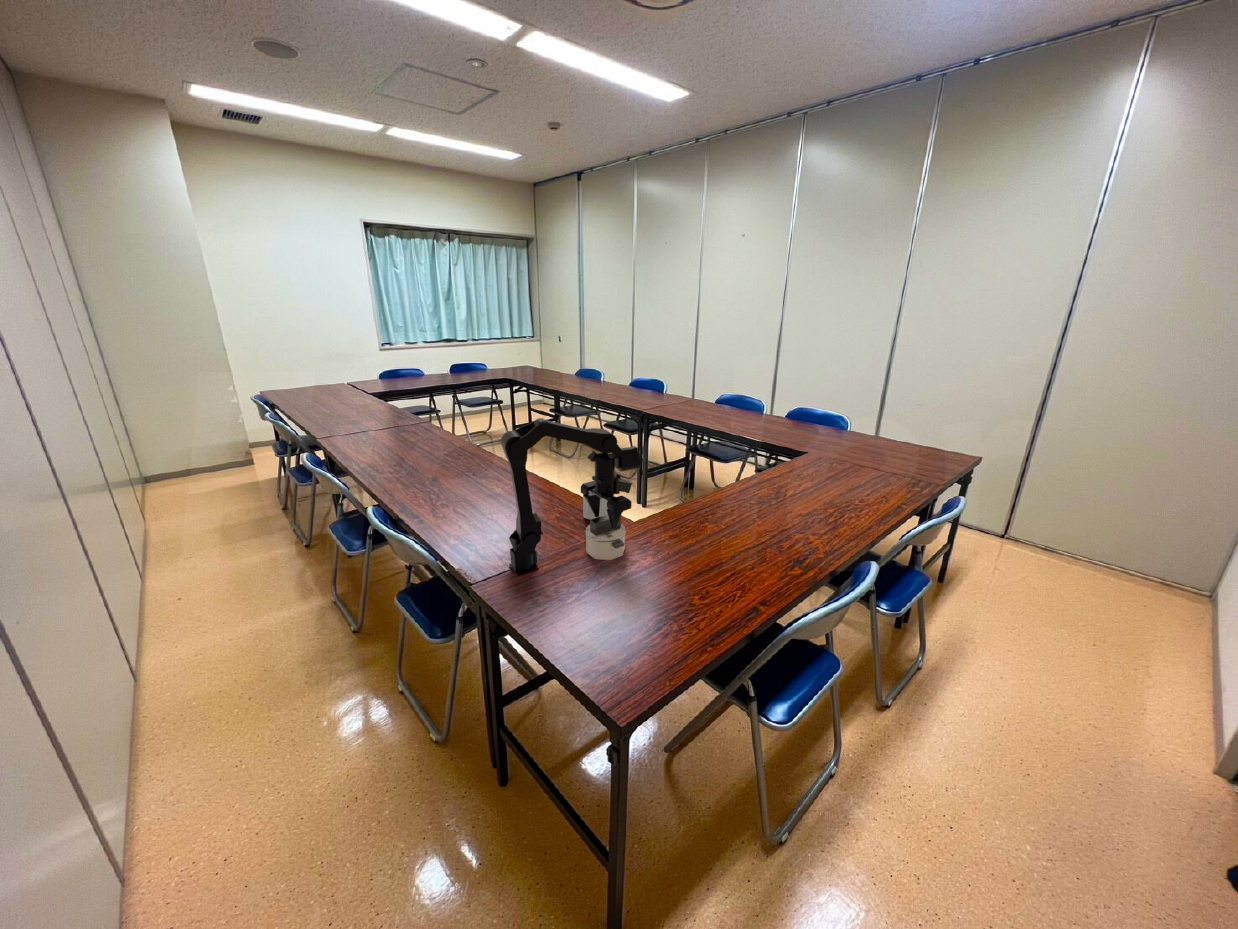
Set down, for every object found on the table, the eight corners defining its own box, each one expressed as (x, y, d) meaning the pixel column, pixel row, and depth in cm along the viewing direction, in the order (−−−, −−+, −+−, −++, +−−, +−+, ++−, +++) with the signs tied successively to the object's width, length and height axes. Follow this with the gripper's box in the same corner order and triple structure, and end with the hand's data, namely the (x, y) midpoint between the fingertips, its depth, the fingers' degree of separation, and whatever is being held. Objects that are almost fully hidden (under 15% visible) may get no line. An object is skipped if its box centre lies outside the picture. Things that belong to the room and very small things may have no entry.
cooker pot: (604, 566, 136) (604, 548, 134) (577, 545, 147) (577, 528, 145) (635, 555, 142) (635, 537, 140) (607, 535, 153) (606, 519, 151)
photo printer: (613, 520, 164) (613, 487, 160) (606, 525, 160) (606, 491, 156) (588, 513, 169) (587, 481, 165) (581, 518, 165) (580, 485, 161)
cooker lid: (599, 546, 135) (599, 530, 133) (578, 530, 144) (577, 515, 142) (633, 534, 141) (633, 519, 139) (610, 520, 150) (610, 505, 149)
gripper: (647, 476, 133) (646, 526, 138) (609, 459, 148) (610, 505, 153) (614, 485, 127) (614, 537, 132) (578, 466, 142) (580, 513, 147)
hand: (605, 522), depth 141 cm, fingers open, 9 cm apart
